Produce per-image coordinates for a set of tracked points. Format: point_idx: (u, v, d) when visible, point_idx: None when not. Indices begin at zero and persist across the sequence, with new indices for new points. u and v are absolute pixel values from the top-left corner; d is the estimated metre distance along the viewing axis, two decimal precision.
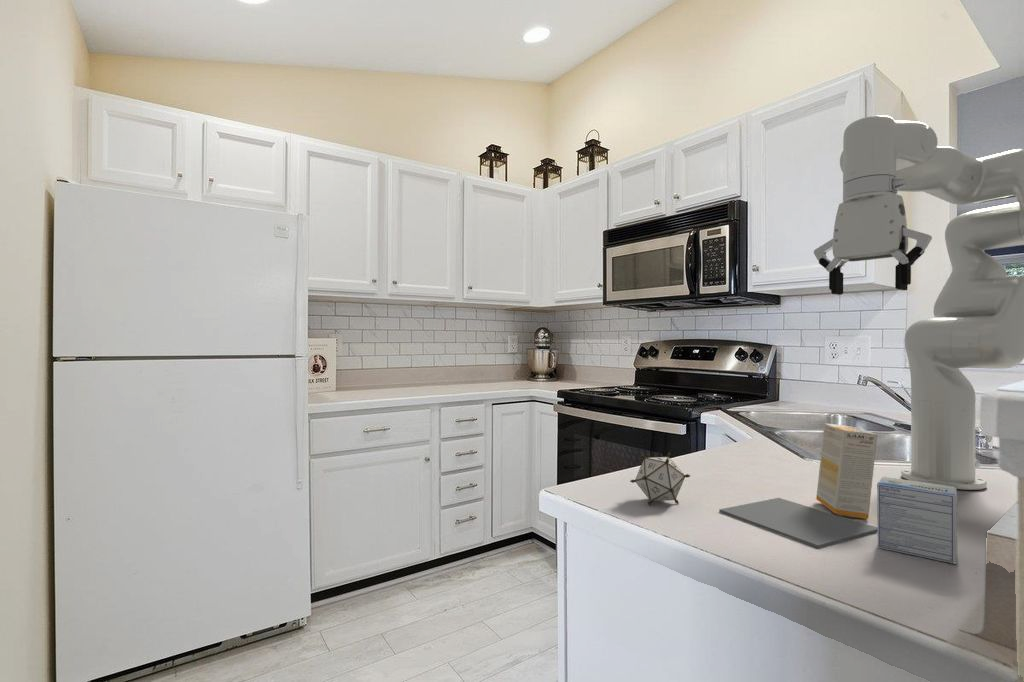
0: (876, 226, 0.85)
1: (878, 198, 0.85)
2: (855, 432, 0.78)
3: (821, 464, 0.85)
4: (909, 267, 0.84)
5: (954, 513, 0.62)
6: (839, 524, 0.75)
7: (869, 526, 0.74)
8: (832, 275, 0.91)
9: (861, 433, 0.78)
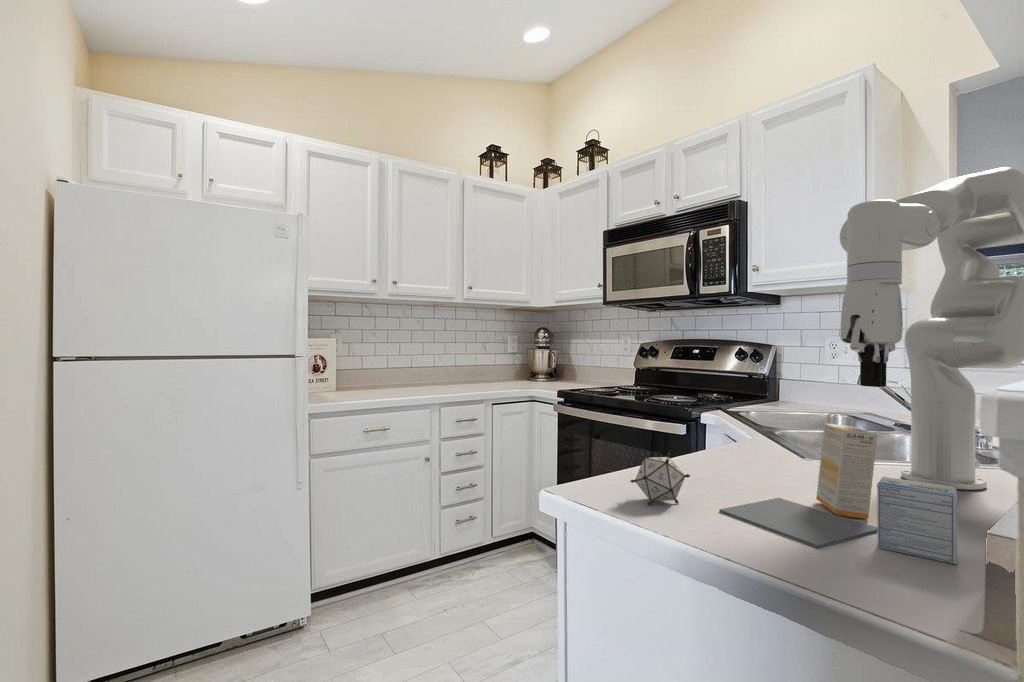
0: (896, 315, 0.85)
1: (897, 287, 0.85)
2: (855, 432, 0.78)
3: (821, 464, 0.85)
4: None
5: (954, 513, 0.62)
6: (839, 524, 0.75)
7: (869, 526, 0.74)
8: (881, 367, 0.84)
9: (861, 433, 0.78)
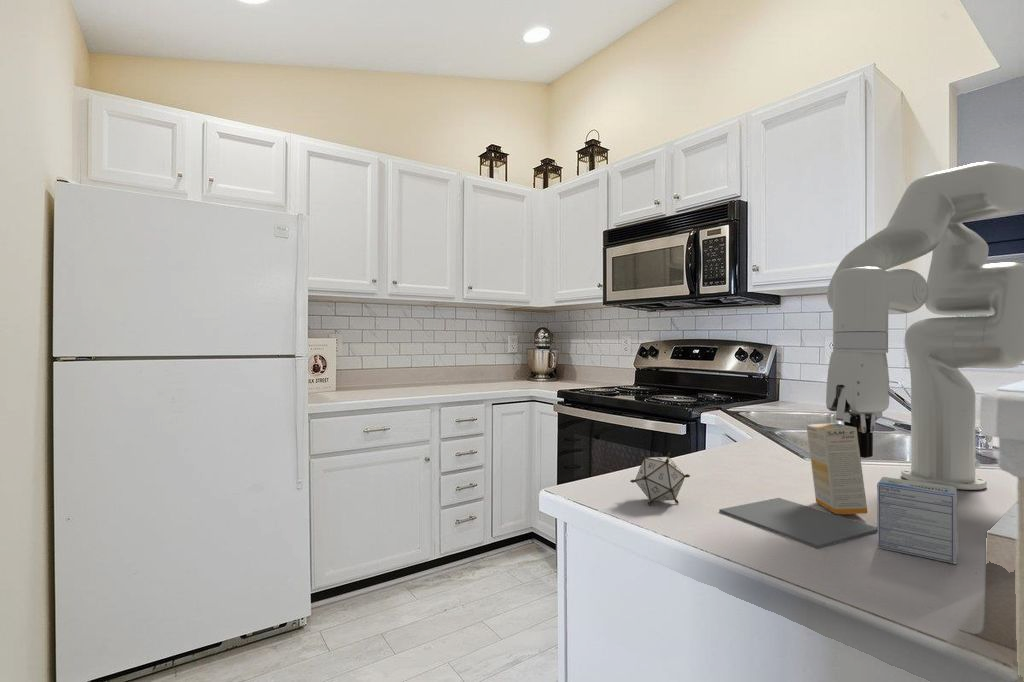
0: (882, 384, 0.83)
1: (883, 355, 0.83)
2: (835, 429, 0.79)
3: (812, 466, 0.86)
4: None
5: (954, 513, 0.62)
6: (839, 524, 0.75)
7: (869, 526, 0.74)
8: (867, 438, 0.82)
9: (841, 429, 0.79)
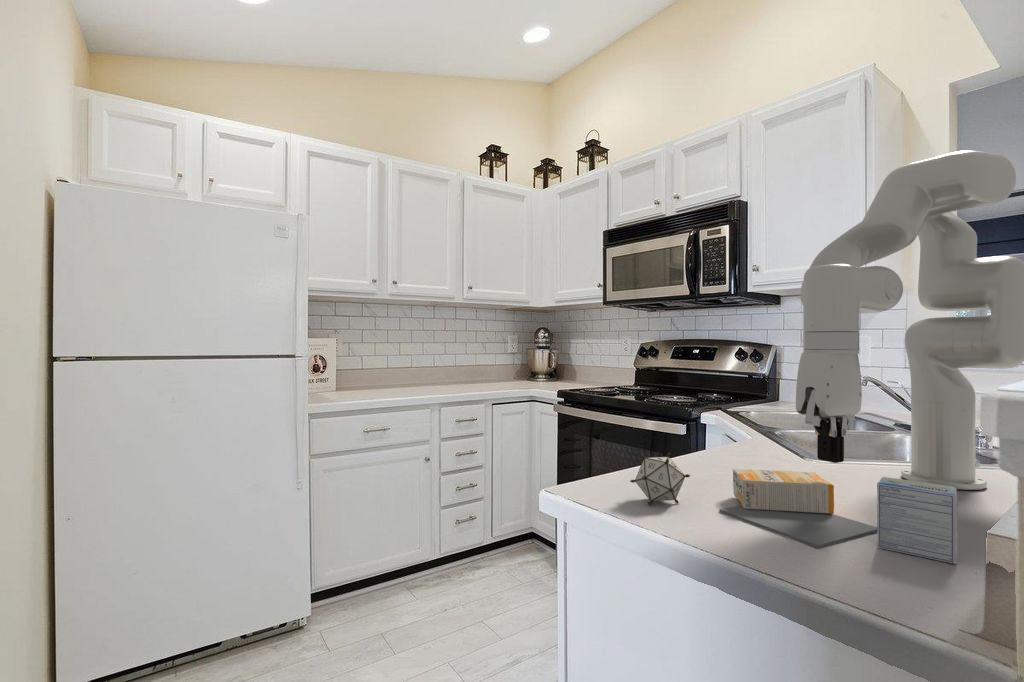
0: (854, 386, 0.80)
1: (855, 356, 0.80)
2: (744, 499, 0.81)
3: None
4: None
5: (954, 513, 0.62)
6: (839, 524, 0.75)
7: (869, 526, 0.74)
8: (838, 442, 0.79)
9: (744, 494, 0.81)
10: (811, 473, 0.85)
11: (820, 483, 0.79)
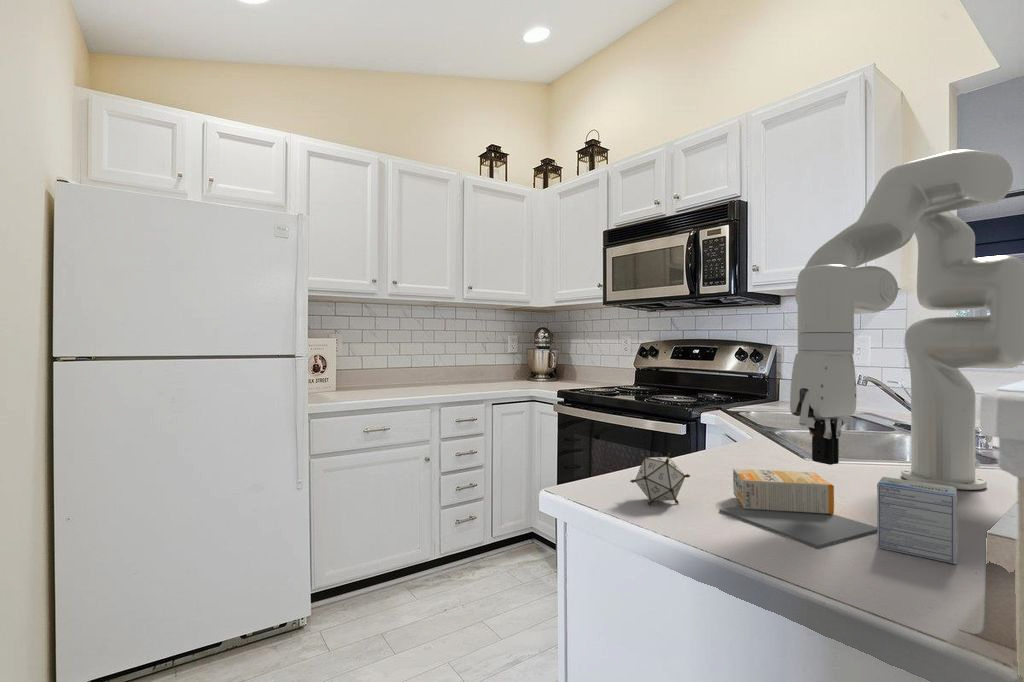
0: (848, 387, 0.79)
1: (849, 357, 0.79)
2: (744, 499, 0.81)
3: None
4: None
5: (954, 513, 0.62)
6: (839, 524, 0.75)
7: (869, 526, 0.74)
8: (833, 444, 0.79)
9: (744, 494, 0.81)
10: (811, 473, 0.85)
11: (820, 483, 0.79)
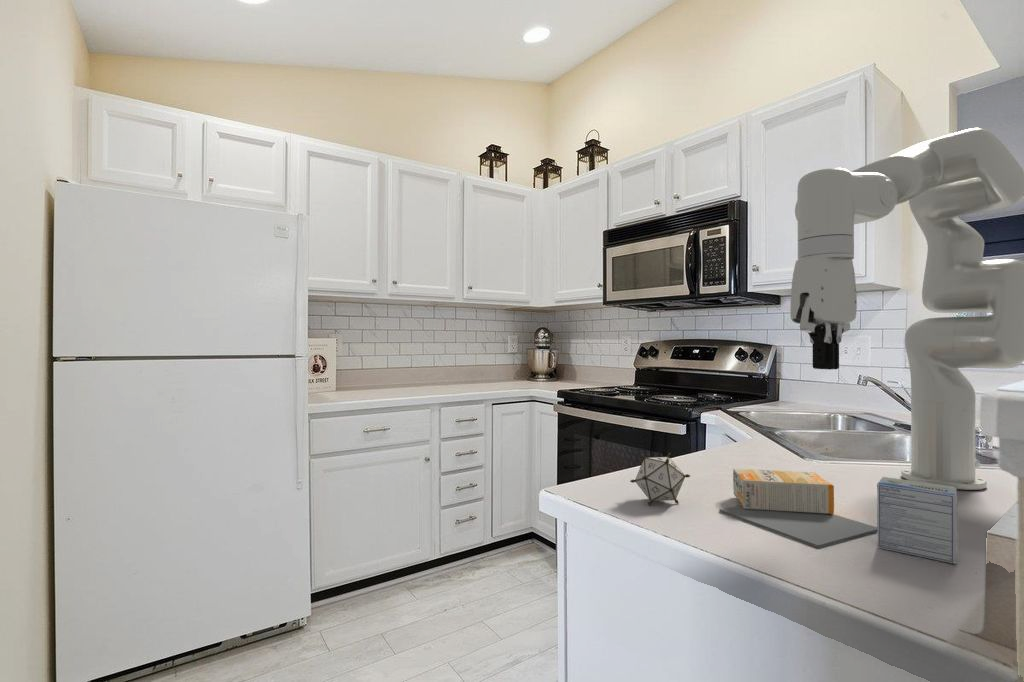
0: (849, 292, 0.79)
1: (849, 262, 0.79)
2: (744, 499, 0.81)
3: None
4: None
5: (954, 513, 0.62)
6: (839, 524, 0.75)
7: (869, 526, 0.74)
8: (833, 348, 0.79)
9: (744, 494, 0.81)
10: (811, 473, 0.85)
11: (820, 483, 0.79)
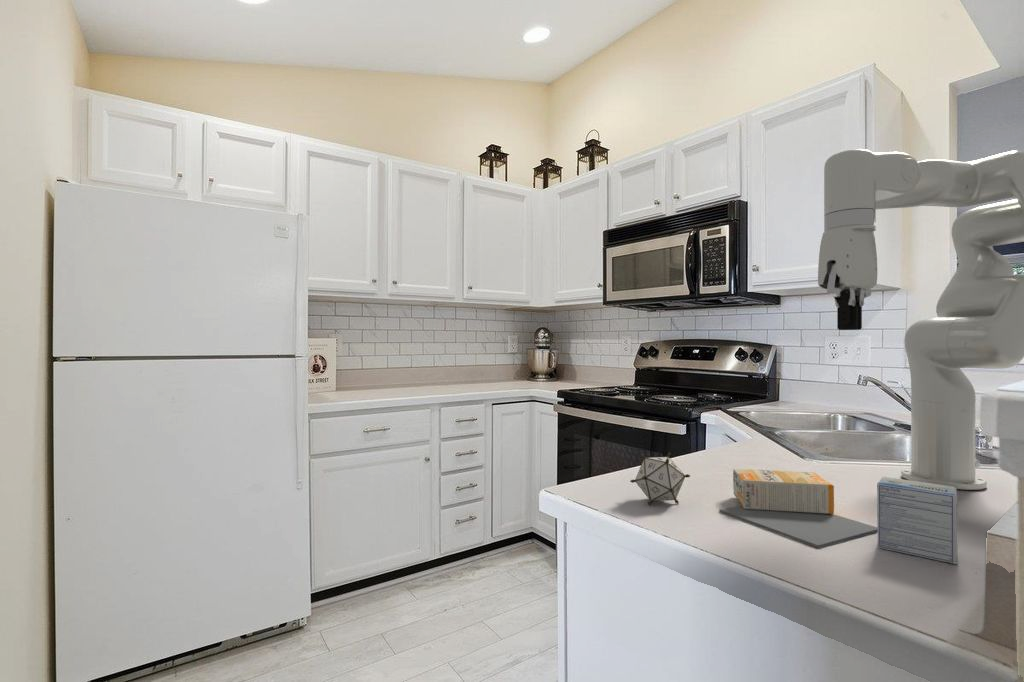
0: (870, 260, 0.88)
1: (871, 234, 0.88)
2: (744, 499, 0.81)
3: None
4: None
5: (954, 513, 0.62)
6: (839, 524, 0.75)
7: (869, 526, 0.74)
8: (856, 310, 0.88)
9: (744, 494, 0.81)
10: (811, 473, 0.85)
11: (820, 483, 0.79)
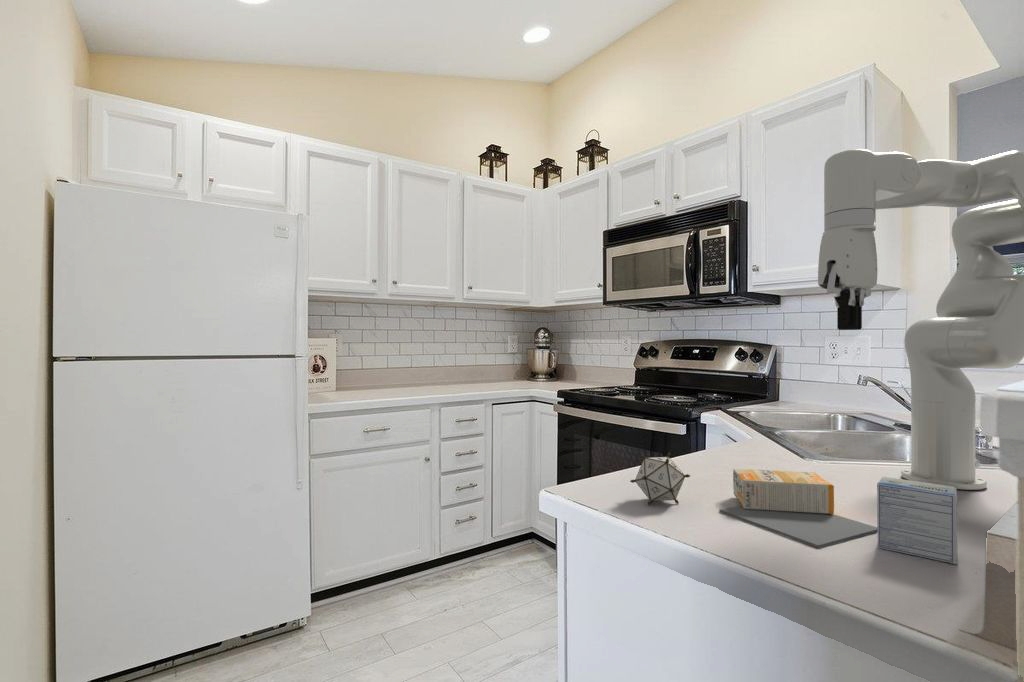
0: (871, 260, 0.88)
1: (871, 234, 0.88)
2: (744, 499, 0.81)
3: None
4: None
5: (954, 513, 0.62)
6: (839, 524, 0.75)
7: (869, 526, 0.74)
8: (856, 310, 0.88)
9: (744, 494, 0.81)
10: (811, 473, 0.85)
11: (820, 483, 0.79)
